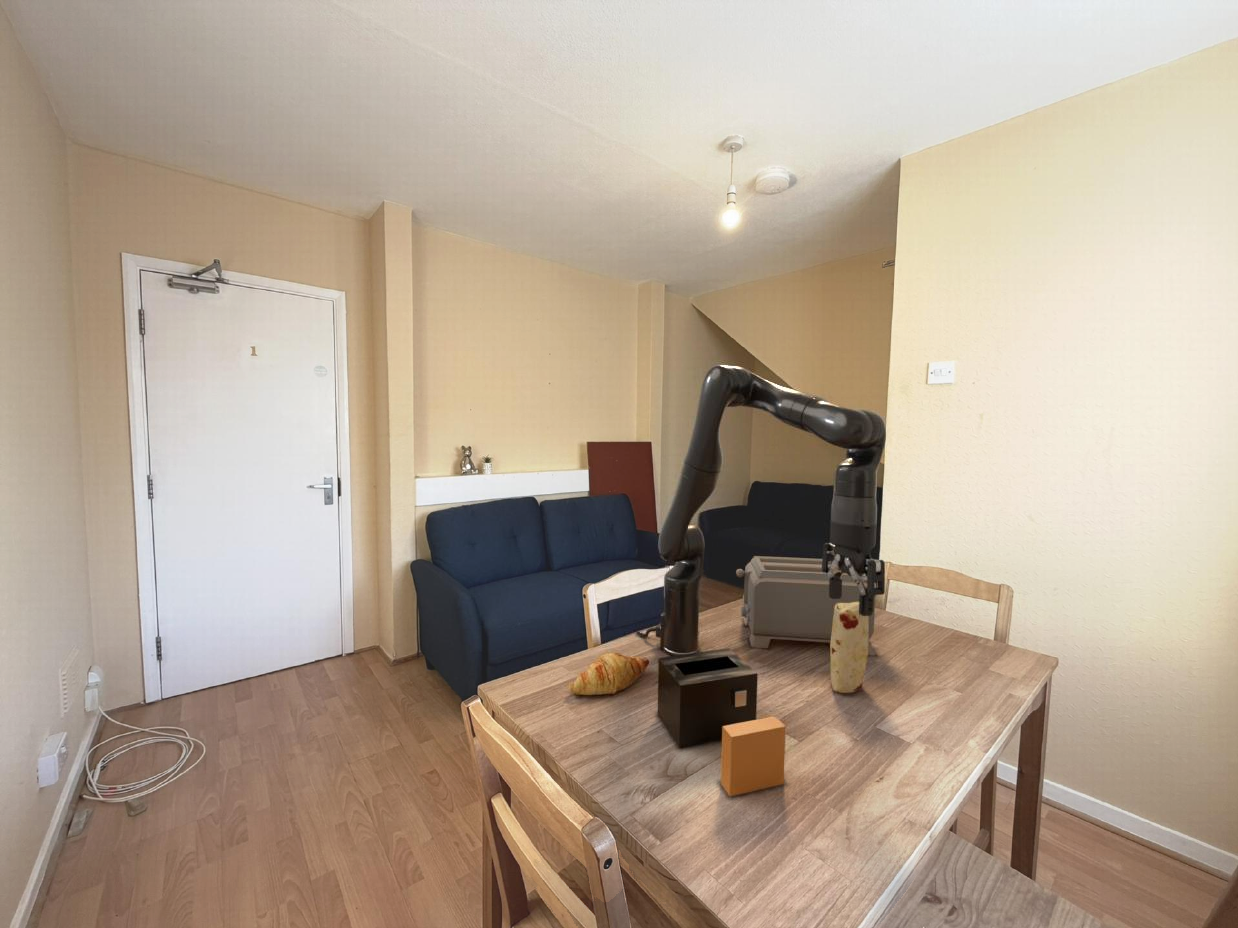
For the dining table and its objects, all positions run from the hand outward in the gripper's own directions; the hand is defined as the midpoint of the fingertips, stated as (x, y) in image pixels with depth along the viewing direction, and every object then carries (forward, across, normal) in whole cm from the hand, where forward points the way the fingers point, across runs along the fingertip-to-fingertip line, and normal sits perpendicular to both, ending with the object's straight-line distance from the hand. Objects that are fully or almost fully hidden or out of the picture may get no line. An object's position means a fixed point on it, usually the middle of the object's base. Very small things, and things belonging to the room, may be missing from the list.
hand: (849, 606), depth 90 cm
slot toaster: (+26, -10, -24) cm, 36 cm away
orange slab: (+26, +7, -22) cm, 35 cm away
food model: (+26, -16, +12) cm, 33 cm away
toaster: (+26, -44, +17) cm, 53 cm away
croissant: (+26, -28, -40) cm, 55 cm away
